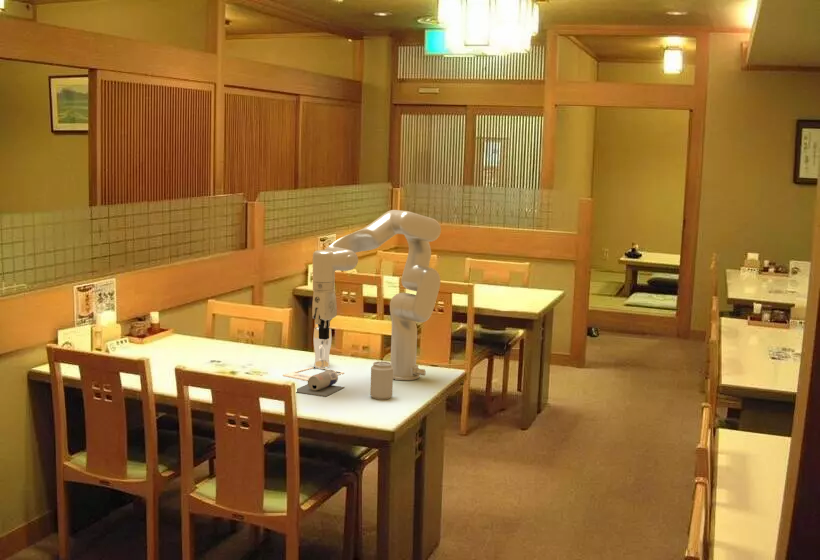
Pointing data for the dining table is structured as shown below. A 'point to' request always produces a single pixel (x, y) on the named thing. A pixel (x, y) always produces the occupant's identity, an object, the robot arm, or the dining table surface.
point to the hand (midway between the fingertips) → (323, 338)
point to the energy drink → (322, 380)
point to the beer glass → (322, 349)
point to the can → (381, 380)
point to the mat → (321, 392)
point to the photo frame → (303, 377)
